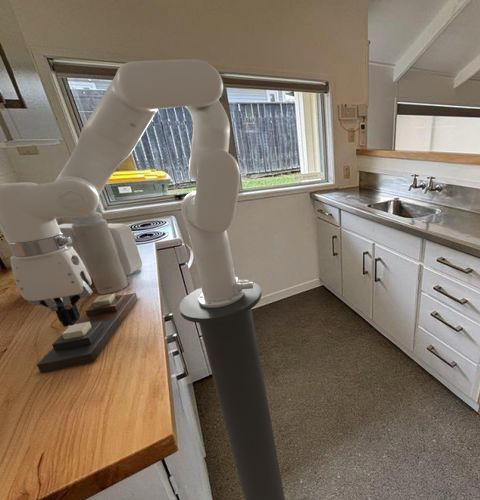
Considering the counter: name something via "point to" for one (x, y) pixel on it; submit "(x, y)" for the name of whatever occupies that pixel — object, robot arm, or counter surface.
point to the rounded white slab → (121, 241)
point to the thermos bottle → (99, 252)
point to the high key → (77, 330)
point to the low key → (104, 300)
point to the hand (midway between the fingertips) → (72, 322)
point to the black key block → (78, 347)
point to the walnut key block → (110, 310)
